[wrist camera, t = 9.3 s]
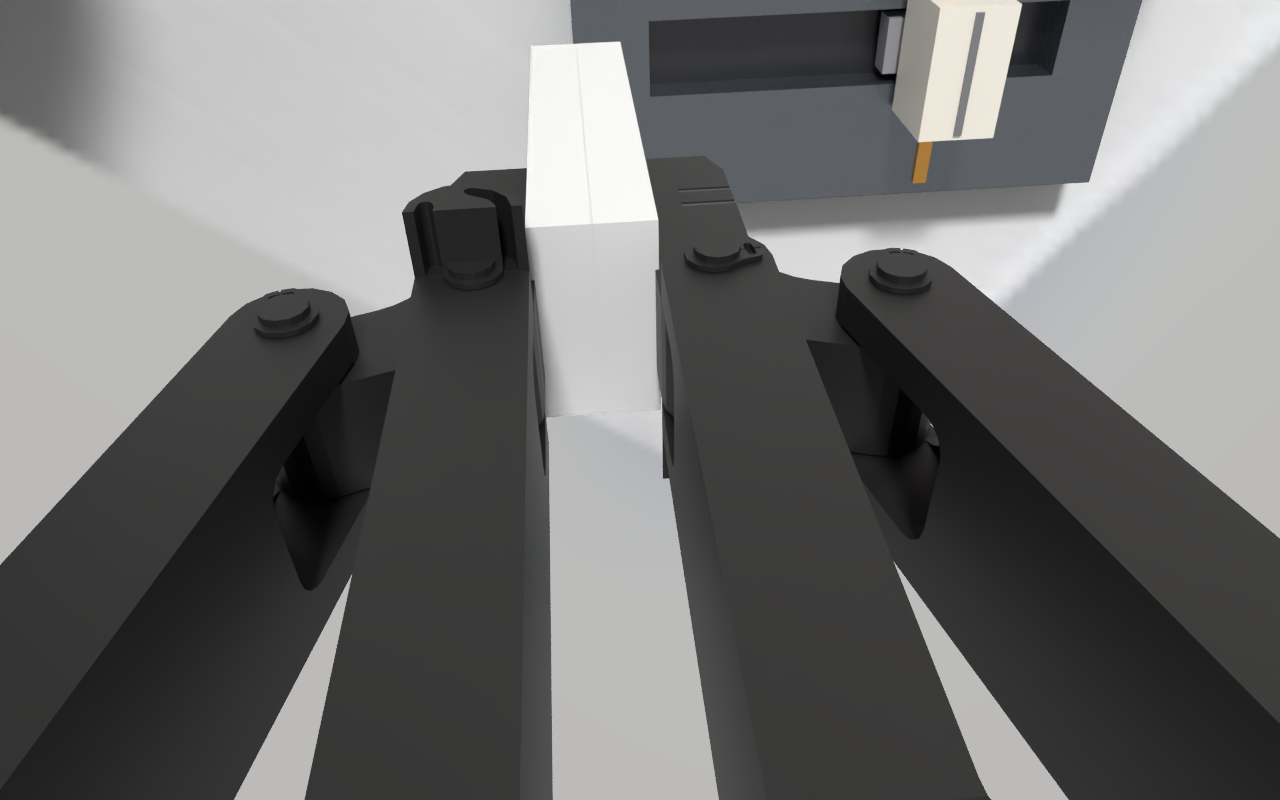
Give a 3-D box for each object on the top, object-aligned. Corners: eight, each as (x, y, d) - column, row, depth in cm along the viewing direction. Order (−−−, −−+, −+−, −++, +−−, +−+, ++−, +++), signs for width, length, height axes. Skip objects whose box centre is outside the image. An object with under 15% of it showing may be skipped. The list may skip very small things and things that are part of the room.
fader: (870, 98, 40) (906, 144, 36) (886, -26, 37) (927, 9, 33) (960, 93, 40) (1006, 138, 36) (984, -30, 37) (1037, 4, 33)
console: (583, 187, 43) (585, 213, 41) (561, -132, 35) (562, -120, 33) (1064, 159, 44) (1090, 183, 42) (1150, -156, 36) (1187, -147, 34)
